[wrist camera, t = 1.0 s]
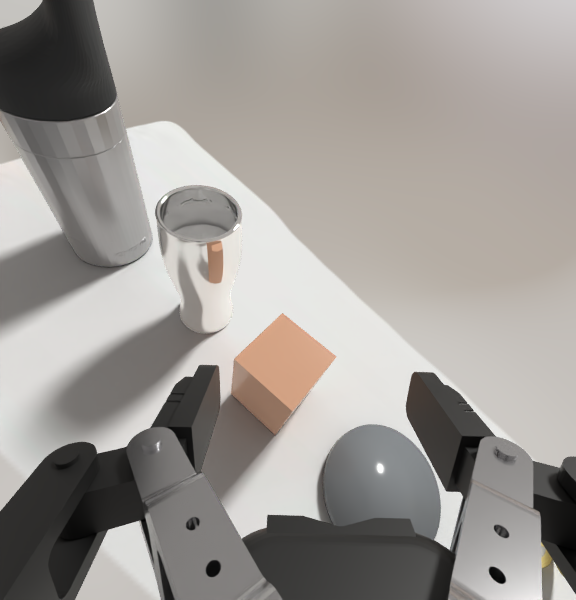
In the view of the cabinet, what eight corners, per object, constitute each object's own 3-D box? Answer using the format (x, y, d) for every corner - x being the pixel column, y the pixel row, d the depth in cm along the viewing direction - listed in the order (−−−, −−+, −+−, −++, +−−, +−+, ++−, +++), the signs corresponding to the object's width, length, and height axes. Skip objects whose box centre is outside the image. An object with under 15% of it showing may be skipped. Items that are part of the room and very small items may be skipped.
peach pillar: (231, 393, 32) (234, 359, 24) (269, 354, 35) (282, 313, 27) (275, 435, 30) (292, 411, 23) (310, 390, 33) (336, 356, 26)
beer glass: (234, 339, 35) (241, 248, 23) (170, 335, 34) (142, 238, 22) (238, 289, 39) (246, 189, 27) (181, 284, 38) (162, 177, 26)
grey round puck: (299, 497, 28) (301, 497, 27) (360, 404, 33) (364, 401, 33) (404, 600, 25) (410, 603, 24) (451, 479, 31) (457, 479, 30)
